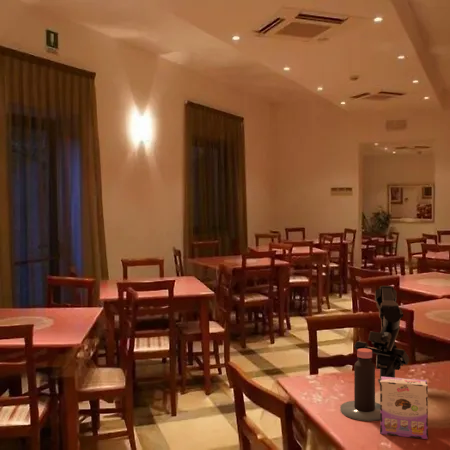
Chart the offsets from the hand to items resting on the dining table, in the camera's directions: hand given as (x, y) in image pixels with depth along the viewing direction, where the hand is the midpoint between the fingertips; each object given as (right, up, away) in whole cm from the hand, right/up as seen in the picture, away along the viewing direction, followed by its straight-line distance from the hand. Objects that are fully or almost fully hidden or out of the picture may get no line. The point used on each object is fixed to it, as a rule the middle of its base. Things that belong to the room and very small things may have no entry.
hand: (372, 373), depth 185 cm
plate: (-4, -12, -4) cm, 13 cm away
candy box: (+4, -13, -21) cm, 25 cm away
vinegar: (-4, -11, -4) cm, 12 cm away
